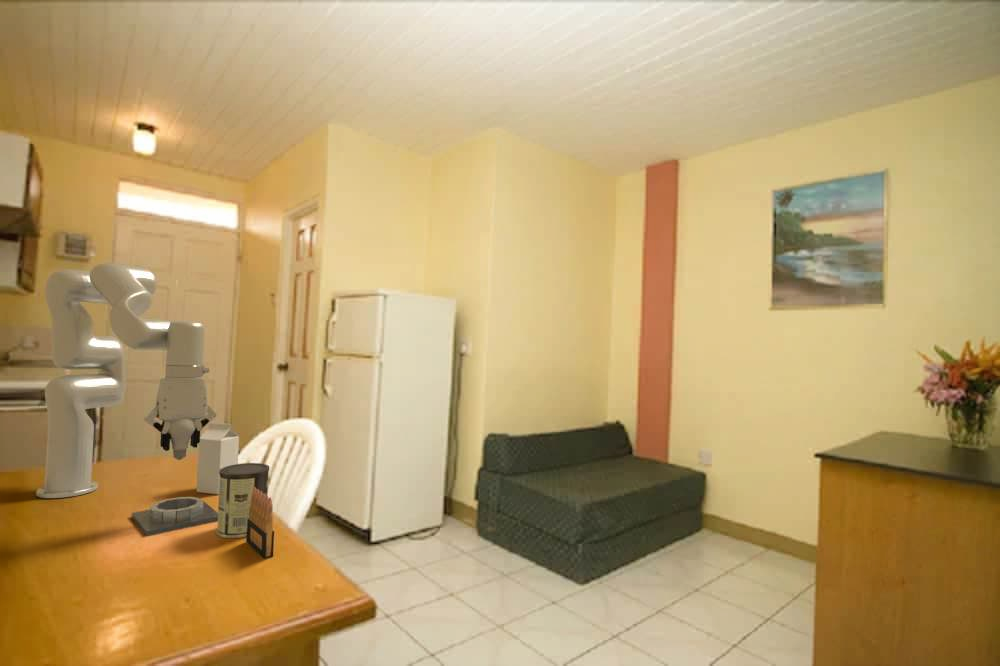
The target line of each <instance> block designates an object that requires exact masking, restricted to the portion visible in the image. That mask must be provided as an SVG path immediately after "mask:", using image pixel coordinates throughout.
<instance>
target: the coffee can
mask: <svg viewBox="0 0 1000 666" xmlns="http://www.w3.org/2000/svg"><path fill="white" fill-rule="evenodd" d="M269 472H270V466H269V465H267V464H265V463H261V462H260V463H259V462H257V463H256V462H251V463H250V462H247V463H238V464H235V465H230V466H227V467H224V468H222V469H220V470H219V474H220V481H219V494H218V509H217V513H218V521H217V526H216V527H217V528H216V534H217V536H219V537H221V538H224V539H225V538H226V539H242V538H246V537H247V522H248V519H249V511H250V505H251V496H252V491H253V489H254V487H256V490H257V489H259V492H260V491H262V494H263V493H265V496H266V495H268V494H269V493H268V492H269V474H270V473H269Z"/></svg>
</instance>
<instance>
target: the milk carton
mask: <svg viewBox="0 0 1000 666" xmlns="http://www.w3.org/2000/svg"><path fill="white" fill-rule="evenodd" d="M208 424H209V425H208V427H207V428H206V429H205V431H204V432H203V433H202V434H201V435H200V443H198V455H197V472H196V473H197V474H196V475H197V477H196V492H197V493H203V494H212V495H219V481H220V474H219V470H220V469H222V468H224V467H227V466H230V465H235V464H239V446H240V435H239V434H237V432H236V431H235V430H234V429H233V428H232V424H230V423H222V422H221V423H220V422H211V421H209V423H208Z"/></svg>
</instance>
